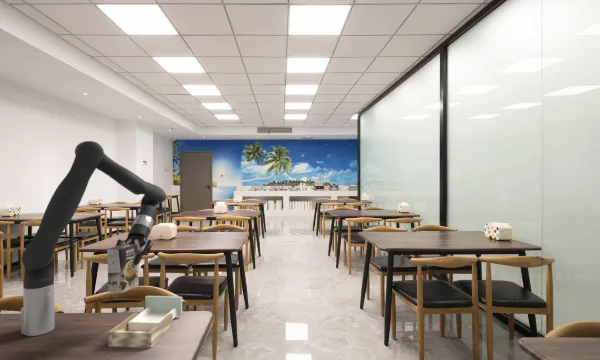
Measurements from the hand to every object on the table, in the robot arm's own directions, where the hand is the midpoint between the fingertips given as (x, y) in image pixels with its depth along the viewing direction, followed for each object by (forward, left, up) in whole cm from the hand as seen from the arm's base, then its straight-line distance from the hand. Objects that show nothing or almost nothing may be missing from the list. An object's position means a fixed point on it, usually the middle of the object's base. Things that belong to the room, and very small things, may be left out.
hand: (126, 264), depth 131 cm
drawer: (+9, +4, -24) cm, 26 cm away
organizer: (+9, -5, -25) cm, 27 cm away
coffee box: (0, -1, -9) cm, 9 cm away
